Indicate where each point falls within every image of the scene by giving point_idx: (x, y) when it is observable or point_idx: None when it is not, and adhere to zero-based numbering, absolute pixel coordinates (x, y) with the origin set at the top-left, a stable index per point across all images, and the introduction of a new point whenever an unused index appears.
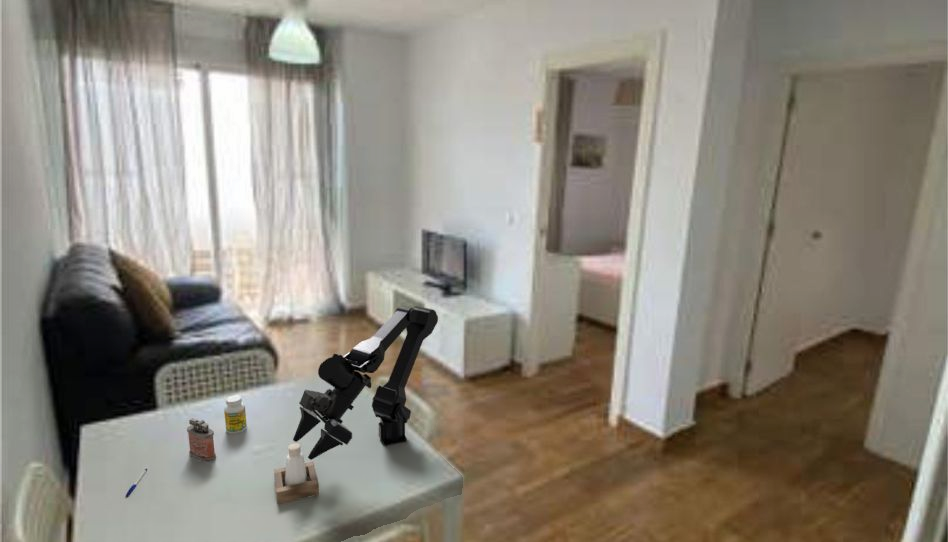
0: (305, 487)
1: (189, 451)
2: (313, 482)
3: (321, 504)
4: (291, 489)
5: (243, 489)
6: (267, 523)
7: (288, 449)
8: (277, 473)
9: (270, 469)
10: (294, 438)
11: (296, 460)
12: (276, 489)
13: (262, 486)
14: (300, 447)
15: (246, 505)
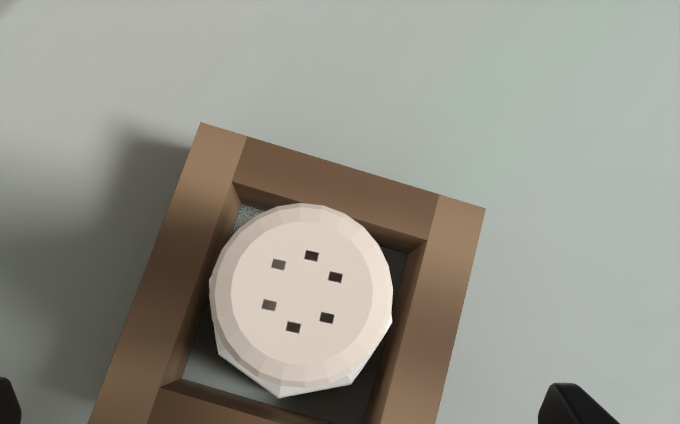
0: (130, 320)
1: None
2: (126, 394)
3: (11, 379)
4: (164, 219)
5: (477, 54)
6: (86, 49)
7: (298, 203)
8: (422, 211)
9: (594, 250)
10: (563, 401)
11: (210, 284)
12: (233, 133)
13: (442, 146)
14: (248, 369)
15: (320, 18)
